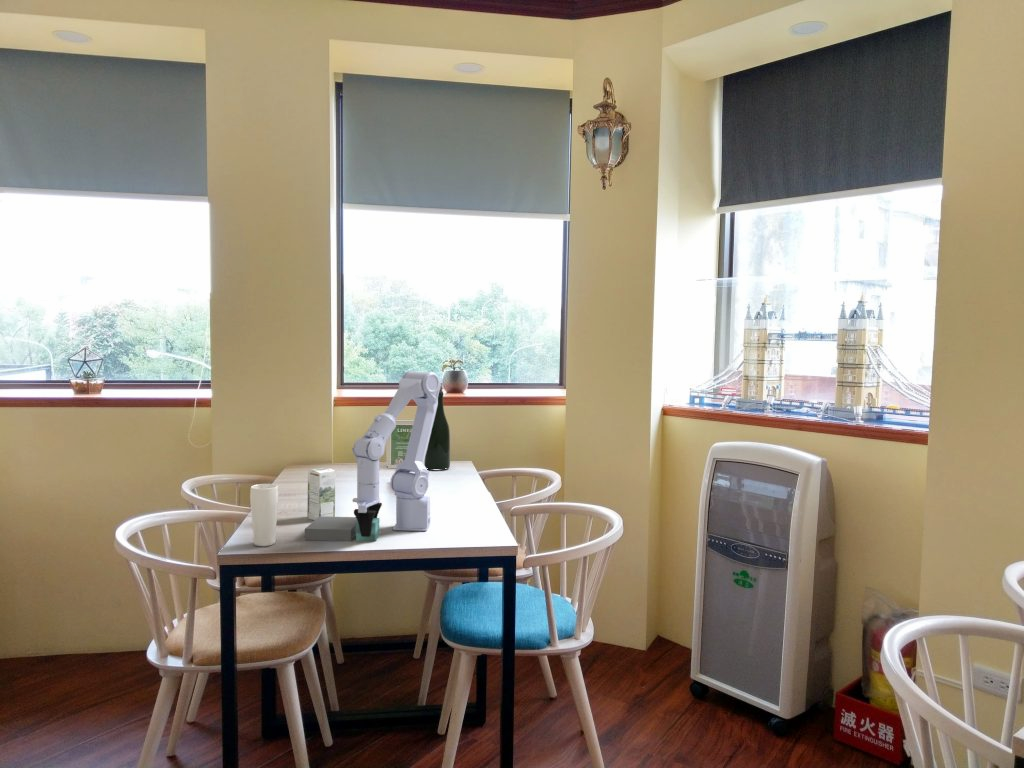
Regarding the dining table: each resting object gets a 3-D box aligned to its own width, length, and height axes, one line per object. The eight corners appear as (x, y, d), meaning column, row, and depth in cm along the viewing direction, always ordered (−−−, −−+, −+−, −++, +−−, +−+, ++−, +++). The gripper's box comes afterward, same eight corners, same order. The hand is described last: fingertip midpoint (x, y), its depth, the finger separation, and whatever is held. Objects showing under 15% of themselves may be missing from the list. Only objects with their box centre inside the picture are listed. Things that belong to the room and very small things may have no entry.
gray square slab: (361, 527, 201) (361, 517, 201) (350, 540, 188) (350, 529, 188) (319, 526, 201) (319, 516, 201) (305, 539, 188) (305, 528, 188)
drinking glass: (266, 549, 180) (265, 489, 179) (244, 546, 182) (244, 487, 181) (284, 542, 186) (284, 484, 185) (263, 539, 188) (262, 482, 187)
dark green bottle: (423, 466, 297) (424, 387, 295) (448, 466, 299) (449, 387, 297) (425, 471, 287) (425, 388, 285) (451, 470, 289) (452, 389, 287)
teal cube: (379, 536, 193) (379, 518, 193) (375, 541, 188) (375, 522, 188) (360, 535, 193) (360, 517, 193) (356, 541, 188) (356, 522, 188)
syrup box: (323, 515, 215) (323, 466, 214) (335, 518, 211) (335, 469, 210) (307, 518, 210) (307, 469, 209) (319, 522, 207) (319, 472, 206)
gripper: (359, 476, 197) (359, 525, 198) (346, 487, 182) (346, 540, 183) (385, 477, 197) (384, 526, 198) (374, 488, 182) (373, 541, 183)
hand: (368, 533), depth 190 cm, fingers closed on teal cube, 5 cm apart
